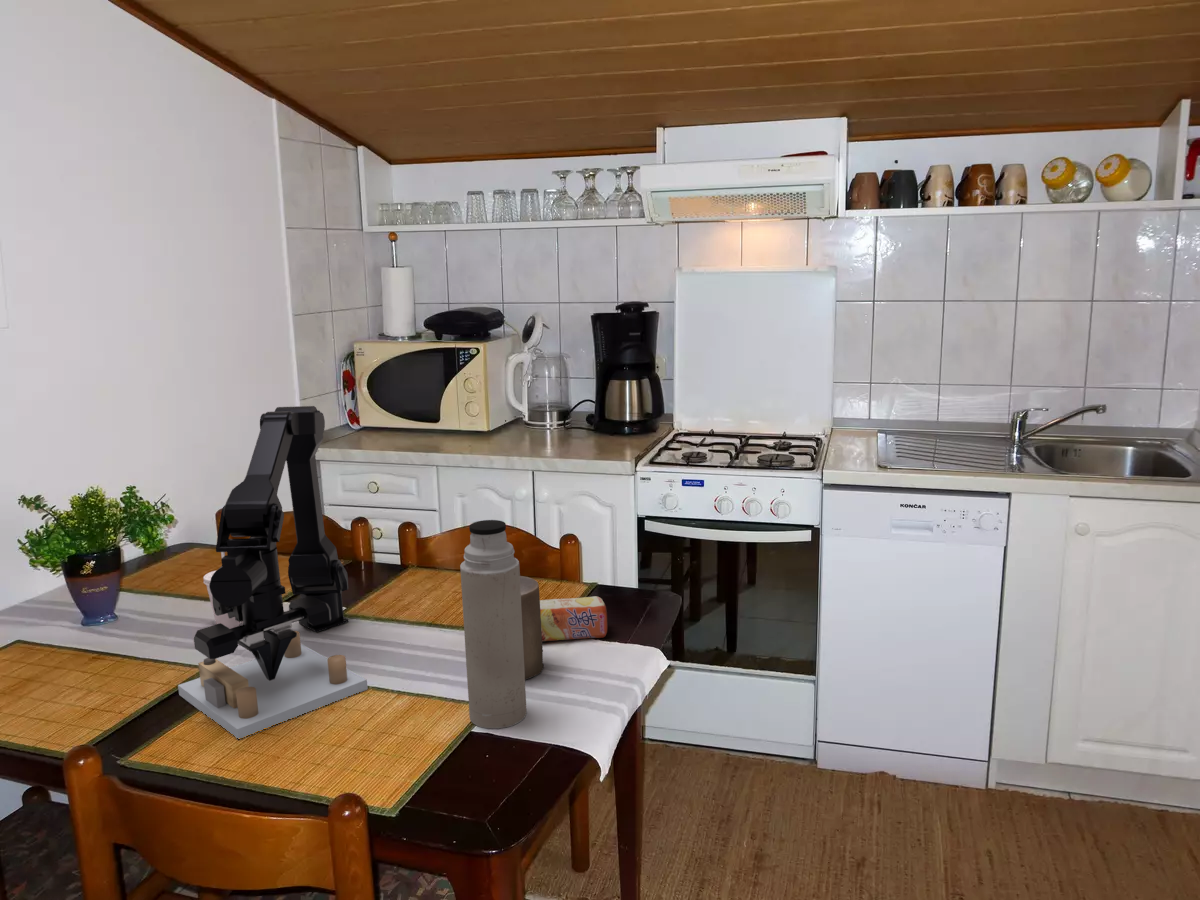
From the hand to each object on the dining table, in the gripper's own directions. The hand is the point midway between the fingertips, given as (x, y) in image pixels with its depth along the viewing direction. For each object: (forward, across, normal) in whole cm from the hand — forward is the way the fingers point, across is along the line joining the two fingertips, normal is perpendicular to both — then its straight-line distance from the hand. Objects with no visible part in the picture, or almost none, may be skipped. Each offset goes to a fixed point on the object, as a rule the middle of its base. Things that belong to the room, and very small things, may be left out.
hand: (270, 679), depth 140 cm
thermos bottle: (+2, -18, +31) cm, 36 cm away
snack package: (+3, -41, +15) cm, 44 cm away
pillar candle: (+3, -30, +20) cm, 36 cm away
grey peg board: (+2, 0, 0) cm, 2 cm away
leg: (+1, +6, -2) cm, 6 cm away
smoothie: (+3, -7, -31) cm, 32 cm away
